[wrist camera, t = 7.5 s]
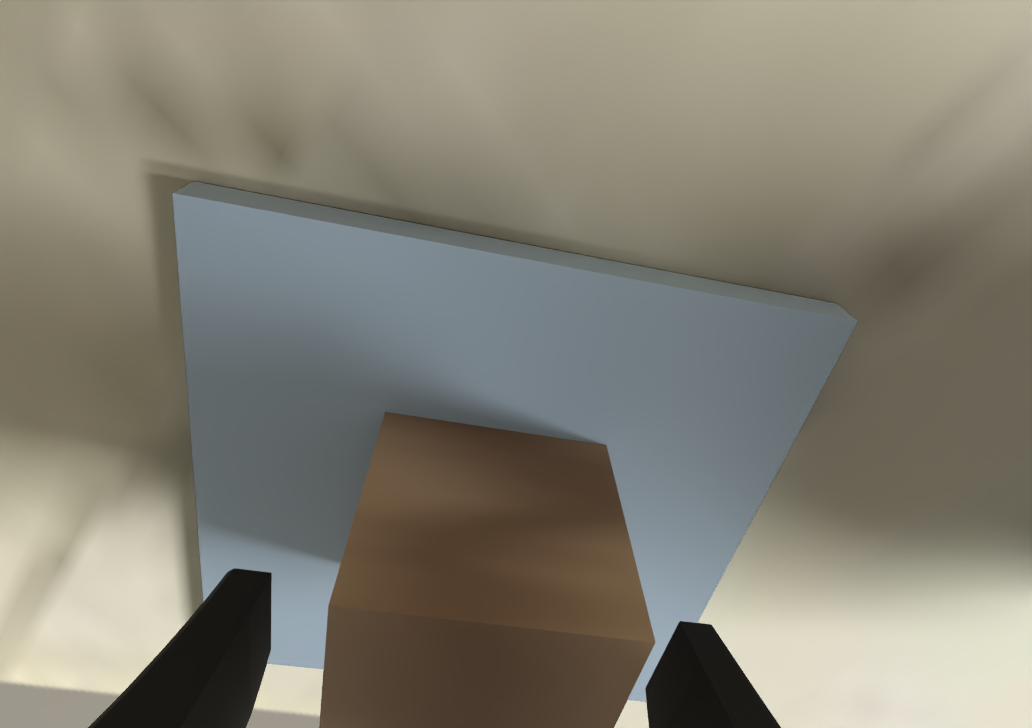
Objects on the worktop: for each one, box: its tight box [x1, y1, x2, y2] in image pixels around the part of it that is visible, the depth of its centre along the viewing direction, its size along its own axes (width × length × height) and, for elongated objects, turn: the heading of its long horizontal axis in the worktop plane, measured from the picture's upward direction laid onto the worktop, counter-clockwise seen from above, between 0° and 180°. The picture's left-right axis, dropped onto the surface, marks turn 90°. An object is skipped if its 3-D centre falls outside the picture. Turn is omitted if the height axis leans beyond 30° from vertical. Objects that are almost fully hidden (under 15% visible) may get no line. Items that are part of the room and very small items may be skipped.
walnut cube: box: [319, 412, 656, 728], centre depth 11 cm, size 4×4×4 cm
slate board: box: [172, 181, 858, 702], centre depth 14 cm, size 12×12×1 cm
